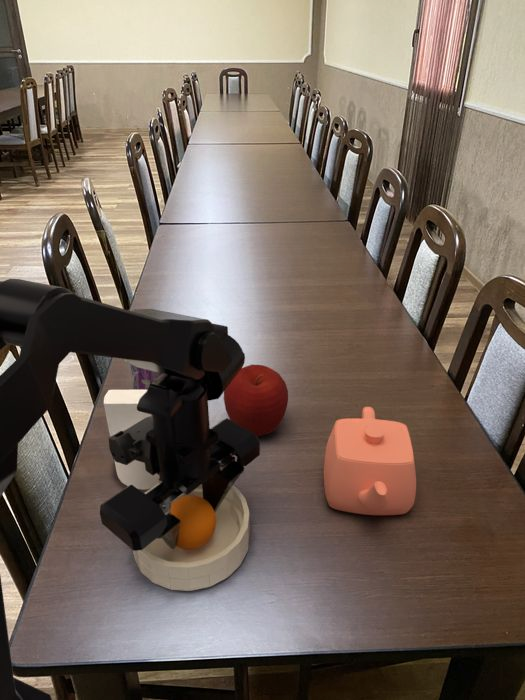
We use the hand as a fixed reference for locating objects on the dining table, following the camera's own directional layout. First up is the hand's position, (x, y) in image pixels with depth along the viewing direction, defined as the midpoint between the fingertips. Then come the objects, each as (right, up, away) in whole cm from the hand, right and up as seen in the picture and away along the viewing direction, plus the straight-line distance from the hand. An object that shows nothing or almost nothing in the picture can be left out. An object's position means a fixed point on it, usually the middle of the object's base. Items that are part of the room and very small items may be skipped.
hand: (191, 529), depth 63 cm
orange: (0, -1, +1) cm, 2 cm away
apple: (+7, +9, +19) cm, 23 cm away
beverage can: (-9, +13, +25) cm, 30 cm away
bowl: (0, -2, +1) cm, 2 cm away
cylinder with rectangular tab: (-7, +5, +12) cm, 15 cm away
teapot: (+22, +2, +8) cm, 23 cm away
